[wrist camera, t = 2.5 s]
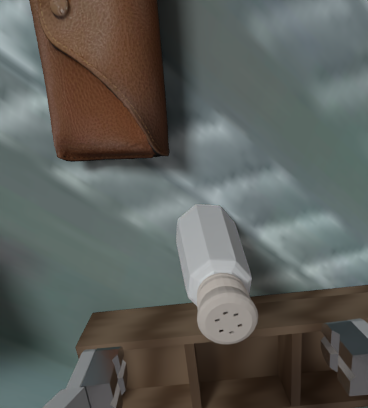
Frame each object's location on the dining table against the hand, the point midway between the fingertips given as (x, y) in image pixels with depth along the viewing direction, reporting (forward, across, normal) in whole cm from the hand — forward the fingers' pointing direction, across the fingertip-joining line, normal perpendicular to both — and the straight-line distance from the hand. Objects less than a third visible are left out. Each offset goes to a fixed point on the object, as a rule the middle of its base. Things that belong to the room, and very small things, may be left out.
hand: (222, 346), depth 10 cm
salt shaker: (+12, -1, 0) cm, 12 cm away
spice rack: (+12, -3, +12) cm, 17 cm away
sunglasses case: (+13, +7, -16) cm, 22 cm away
